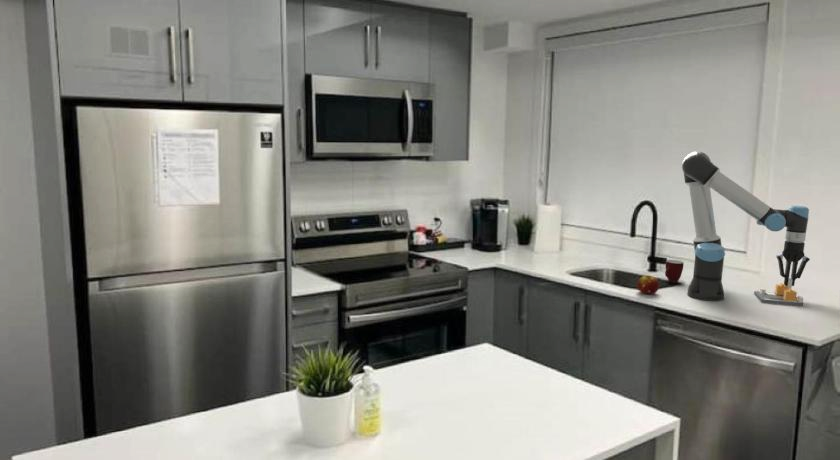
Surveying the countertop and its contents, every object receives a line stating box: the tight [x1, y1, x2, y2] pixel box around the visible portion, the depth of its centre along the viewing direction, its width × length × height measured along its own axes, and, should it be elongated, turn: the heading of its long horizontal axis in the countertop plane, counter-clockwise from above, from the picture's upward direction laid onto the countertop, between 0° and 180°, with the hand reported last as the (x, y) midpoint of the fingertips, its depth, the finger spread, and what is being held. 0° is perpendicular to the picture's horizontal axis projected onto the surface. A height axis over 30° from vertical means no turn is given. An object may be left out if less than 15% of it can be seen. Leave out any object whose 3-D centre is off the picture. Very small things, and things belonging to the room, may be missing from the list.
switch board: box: [753, 287, 805, 307], centre depth 268 cm, size 16×14×4 cm
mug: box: [664, 259, 685, 283], centre depth 296 cm, size 10×8×10 cm
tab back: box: [774, 282, 788, 295], centre depth 271 cm, size 4×3×5 cm
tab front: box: [783, 288, 798, 301], centre depth 262 cm, size 4×3×5 cm
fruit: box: [636, 274, 660, 295], centre depth 275 cm, size 10×9×8 cm
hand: (787, 292), depth 270 cm, fingers closed
